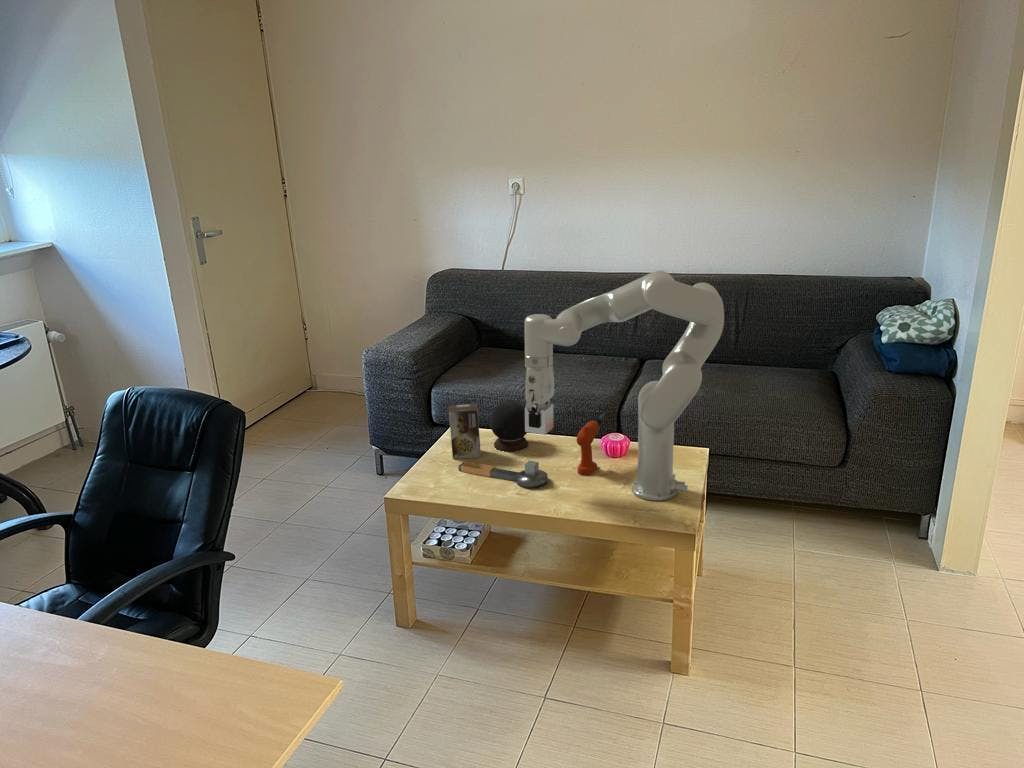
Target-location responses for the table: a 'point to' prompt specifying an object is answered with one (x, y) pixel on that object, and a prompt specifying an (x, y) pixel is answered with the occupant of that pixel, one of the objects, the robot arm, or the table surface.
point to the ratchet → (510, 474)
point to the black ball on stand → (509, 426)
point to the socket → (541, 419)
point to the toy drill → (588, 446)
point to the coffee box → (464, 431)
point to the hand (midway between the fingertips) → (539, 422)
